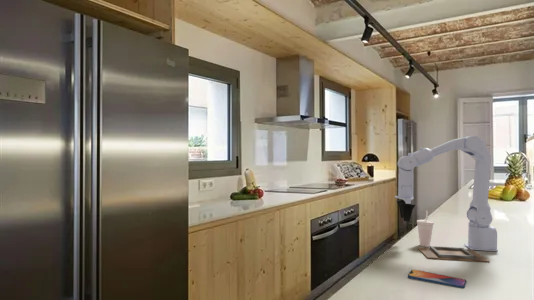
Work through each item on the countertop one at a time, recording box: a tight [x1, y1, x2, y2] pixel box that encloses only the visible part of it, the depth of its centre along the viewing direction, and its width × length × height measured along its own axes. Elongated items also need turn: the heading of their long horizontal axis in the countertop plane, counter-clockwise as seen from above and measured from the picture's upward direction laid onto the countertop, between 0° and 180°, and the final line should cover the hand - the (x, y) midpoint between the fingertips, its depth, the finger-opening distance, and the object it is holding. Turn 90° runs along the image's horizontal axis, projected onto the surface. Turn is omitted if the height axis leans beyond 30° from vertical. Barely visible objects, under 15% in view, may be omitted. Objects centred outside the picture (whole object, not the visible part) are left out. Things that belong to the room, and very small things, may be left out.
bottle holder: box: [417, 245, 490, 263], centre depth 138 cm, size 20×14×2 cm
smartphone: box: [407, 269, 467, 289], centre depth 111 cm, size 7×15×1 cm, turn 58°
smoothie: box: [416, 210, 435, 248], centre depth 152 cm, size 6×6×14 cm
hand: (405, 219), depth 153 cm, fingers open, 7 cm apart
